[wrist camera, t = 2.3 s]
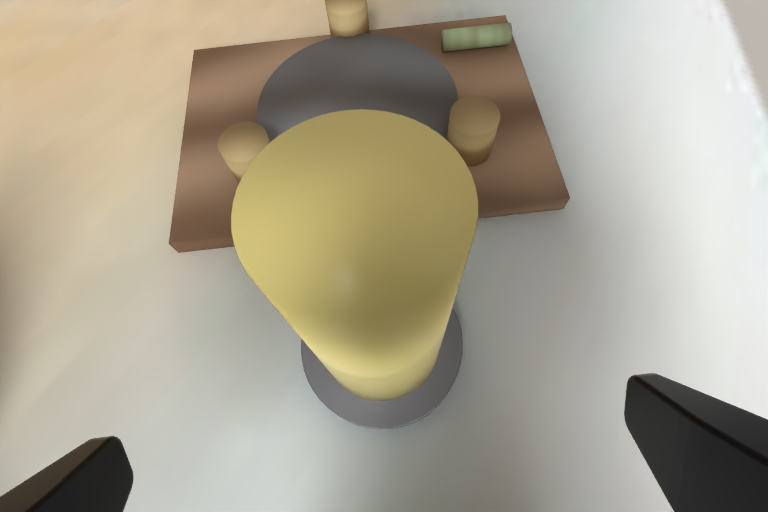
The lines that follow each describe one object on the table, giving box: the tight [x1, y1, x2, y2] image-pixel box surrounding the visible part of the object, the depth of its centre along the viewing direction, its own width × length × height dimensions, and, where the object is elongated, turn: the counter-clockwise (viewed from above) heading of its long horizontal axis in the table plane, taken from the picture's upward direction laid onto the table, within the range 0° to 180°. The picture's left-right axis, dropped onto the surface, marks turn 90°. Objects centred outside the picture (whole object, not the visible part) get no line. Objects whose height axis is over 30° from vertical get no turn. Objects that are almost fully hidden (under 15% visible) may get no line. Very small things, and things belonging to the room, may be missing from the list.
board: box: [169, 0, 570, 253], centre depth 24 cm, size 15×20×4 cm
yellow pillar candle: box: [231, 109, 478, 429], centre depth 14 cm, size 7×7×12 cm
